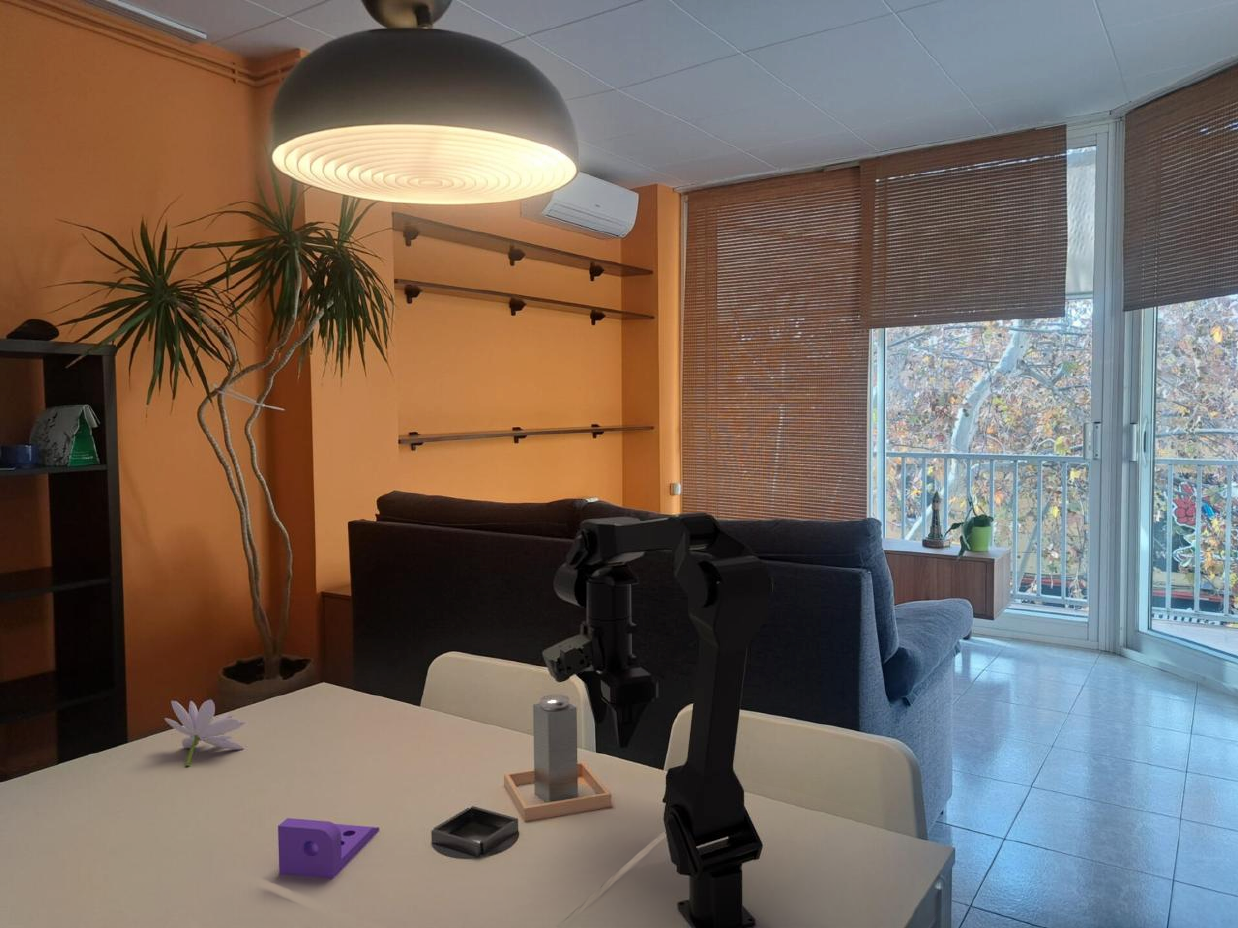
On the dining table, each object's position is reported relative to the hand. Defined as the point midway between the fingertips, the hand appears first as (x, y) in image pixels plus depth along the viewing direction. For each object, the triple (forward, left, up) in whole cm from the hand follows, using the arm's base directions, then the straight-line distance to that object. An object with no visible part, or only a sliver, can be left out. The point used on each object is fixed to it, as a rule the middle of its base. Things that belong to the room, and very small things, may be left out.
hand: (610, 734), depth 113 cm
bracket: (+7, +34, -14) cm, 38 cm away
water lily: (+49, +52, -13) cm, 73 cm away
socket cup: (+4, +17, -13) cm, 22 cm away
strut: (+12, +4, -12) cm, 18 cm away
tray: (+12, +4, -13) cm, 18 cm away
